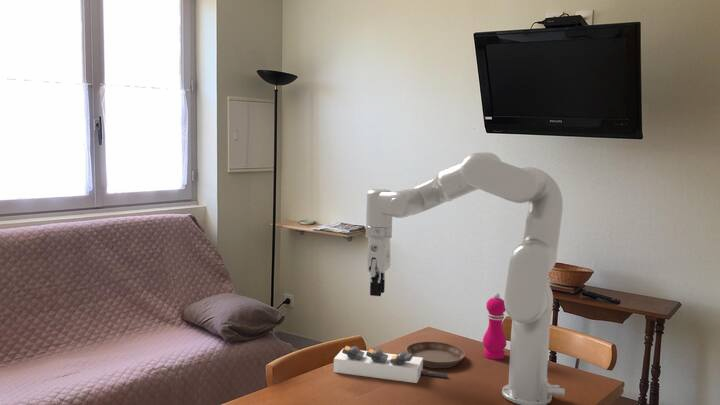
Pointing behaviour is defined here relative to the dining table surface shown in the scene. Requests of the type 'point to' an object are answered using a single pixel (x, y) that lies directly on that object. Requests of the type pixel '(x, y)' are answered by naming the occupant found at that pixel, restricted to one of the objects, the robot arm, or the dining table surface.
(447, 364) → the plant saucer
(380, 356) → the switch middle
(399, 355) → the switch
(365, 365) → the power strip
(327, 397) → the dining table surface
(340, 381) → the dining table surface
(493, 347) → the pepper mill
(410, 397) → the dining table surface
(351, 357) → the switch
